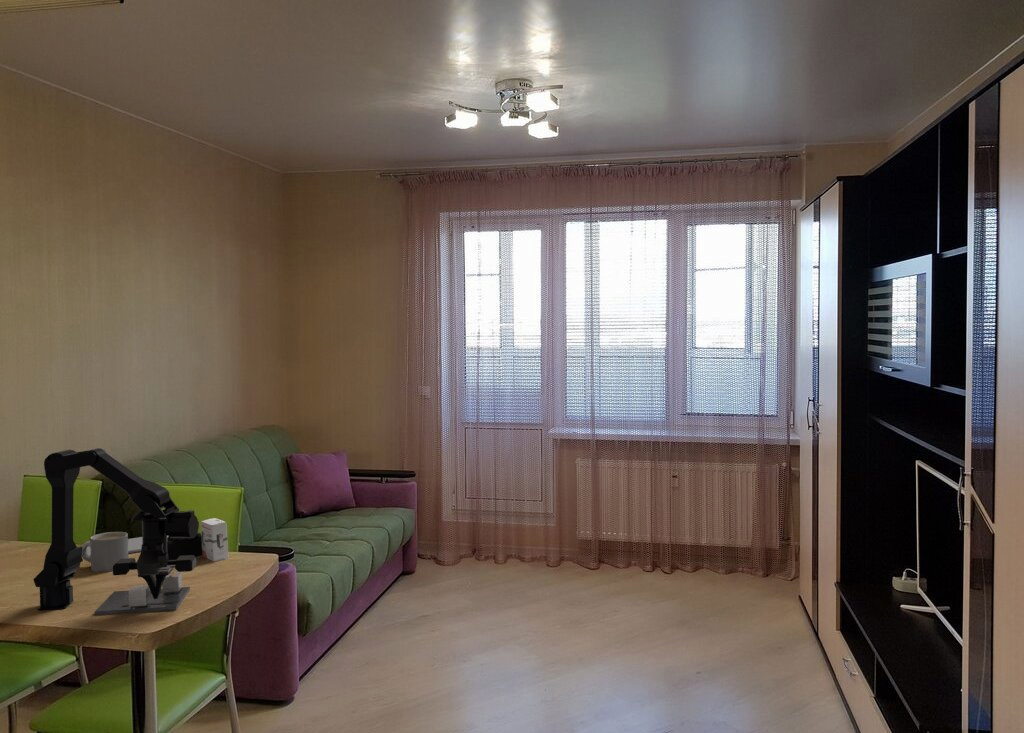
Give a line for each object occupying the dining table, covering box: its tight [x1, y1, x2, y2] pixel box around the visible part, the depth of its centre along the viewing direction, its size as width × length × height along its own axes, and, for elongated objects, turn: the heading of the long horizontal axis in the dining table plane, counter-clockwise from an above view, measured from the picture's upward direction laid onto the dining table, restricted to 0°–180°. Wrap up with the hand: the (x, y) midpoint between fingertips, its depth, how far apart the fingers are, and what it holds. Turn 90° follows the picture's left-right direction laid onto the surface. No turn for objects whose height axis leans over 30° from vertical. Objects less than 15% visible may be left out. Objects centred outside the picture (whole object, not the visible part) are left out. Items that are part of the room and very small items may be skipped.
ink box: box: [200, 517, 229, 562], centre depth 247 cm, size 9×5×12 cm, turn 45°
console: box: [94, 586, 191, 616], centre depth 207 cm, size 19×16×1 cm
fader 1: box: [128, 584, 150, 606], centre depth 202 cm, size 4×4×4 cm
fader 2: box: [161, 571, 183, 592], centre depth 213 cm, size 4×4×4 cm
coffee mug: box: [81, 531, 129, 573], centre depth 238 cm, size 13×10×10 cm
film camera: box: [167, 532, 203, 560], centre depth 247 cm, size 15×10×9 cm, turn 138°
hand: (156, 598), depth 203 cm, fingers closed
